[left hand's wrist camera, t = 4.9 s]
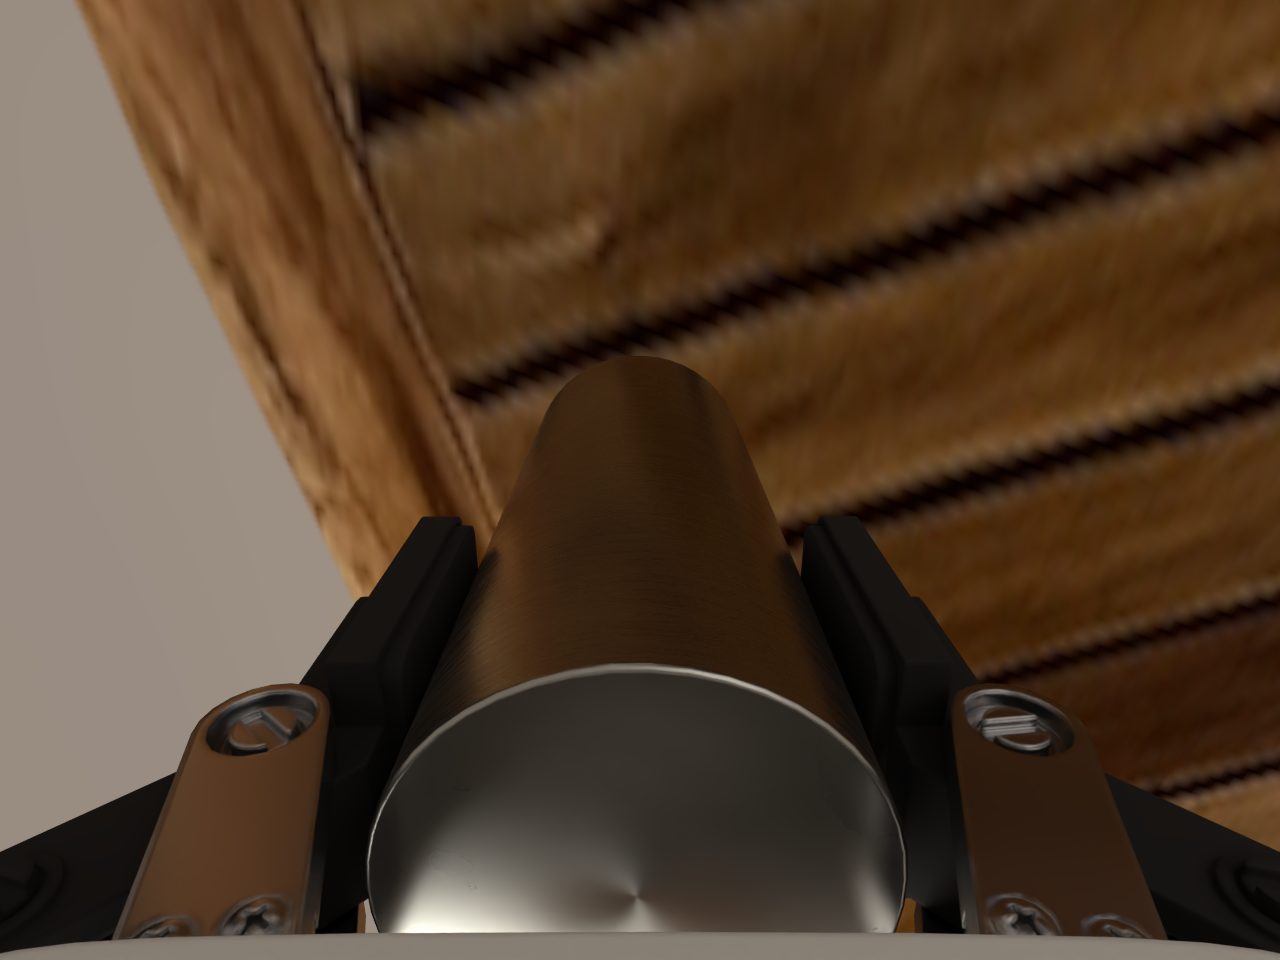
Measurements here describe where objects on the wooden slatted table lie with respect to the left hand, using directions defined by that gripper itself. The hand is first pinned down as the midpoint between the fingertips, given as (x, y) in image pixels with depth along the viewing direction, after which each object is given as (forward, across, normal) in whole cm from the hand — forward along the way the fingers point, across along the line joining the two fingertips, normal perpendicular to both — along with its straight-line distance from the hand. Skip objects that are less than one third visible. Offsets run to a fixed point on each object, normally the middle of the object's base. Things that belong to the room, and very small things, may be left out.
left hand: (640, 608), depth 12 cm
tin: (+7, 0, 0) cm, 7 cm away
